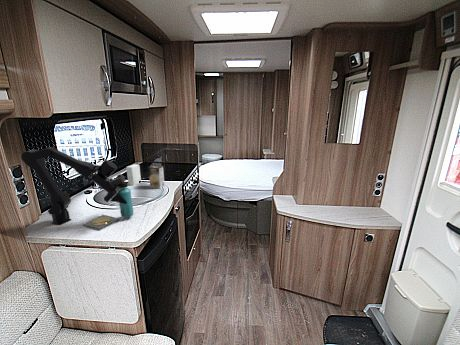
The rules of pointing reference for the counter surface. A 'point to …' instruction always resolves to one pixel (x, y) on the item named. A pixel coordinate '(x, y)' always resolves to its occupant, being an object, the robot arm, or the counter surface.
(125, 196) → the beverage bottle
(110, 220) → the coupling plate
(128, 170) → the skincare box
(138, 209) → the counter surface
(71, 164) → the robot arm
